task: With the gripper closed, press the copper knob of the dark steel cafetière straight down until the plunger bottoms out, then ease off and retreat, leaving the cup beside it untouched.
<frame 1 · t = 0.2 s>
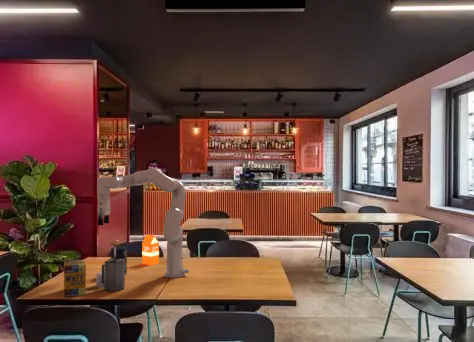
hand: (103, 224, 247), 31 cm above the table, tool pointing down, fingers open, 9 cm apart
protein box: (74, 292, 209), on the table
plunger: (114, 252, 215), point 20 cm above the table, slide at 0.0 cm
orange juice: (150, 263, 277), on the table
carafe: (114, 289, 215), on the table
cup: (102, 285, 221), on the table
canister: (118, 274, 246), on the table
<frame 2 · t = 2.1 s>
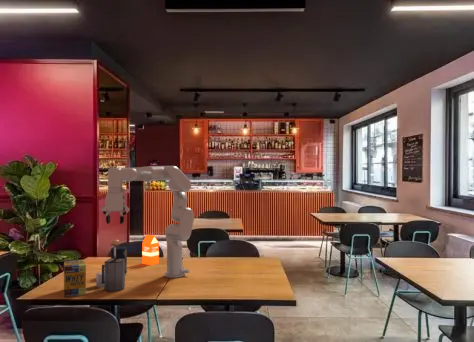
hand: (115, 223, 215), 36 cm above the table, tool pointing down, fingers open, 6 cm apart
nothing on the table moved.
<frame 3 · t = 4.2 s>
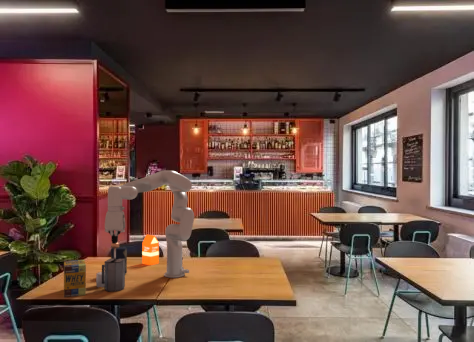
hand: (114, 242, 215), 25 cm above the table, tool pointing down, fingers closed
plunger: (114, 255, 215), point 18 cm above the table, slide at 1.4 cm, touching gripper
everything else where it was.
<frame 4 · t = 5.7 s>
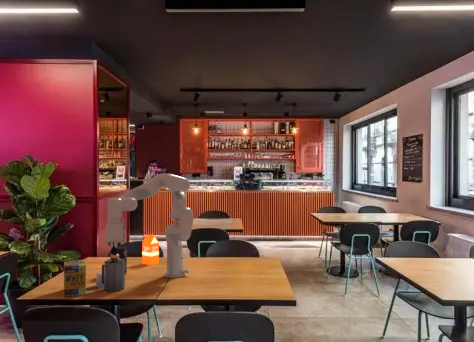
hand: (114, 254, 215), 19 cm above the table, tool pointing down, fingers closed
plunger: (114, 266, 215), point 12 cm above the table, slide at 7.7 cm, touching gripper
everything else where it was.
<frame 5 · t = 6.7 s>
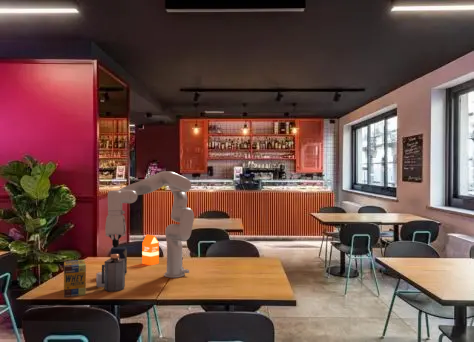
hand: (115, 246, 215), 23 cm above the table, tool pointing down, fingers closed
plunger: (114, 266, 215), point 12 cm above the table, slide at 7.7 cm
everything else where it was.
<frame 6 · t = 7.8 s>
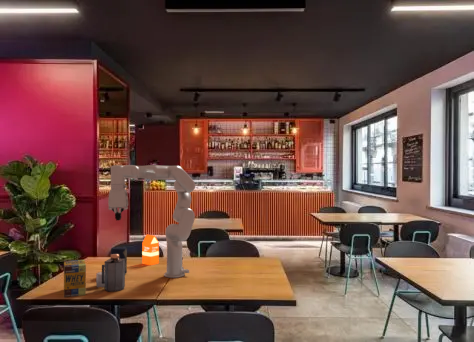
hand: (118, 220, 222), 37 cm above the table, tool pointing down, fingers closed
nothing on the table moved.
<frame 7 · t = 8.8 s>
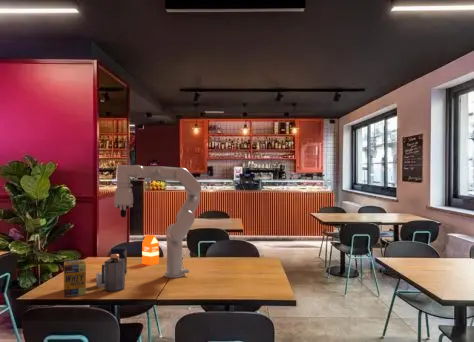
hand: (123, 216, 234), 37 cm above the table, tool pointing down, fingers closed
nothing on the table moved.
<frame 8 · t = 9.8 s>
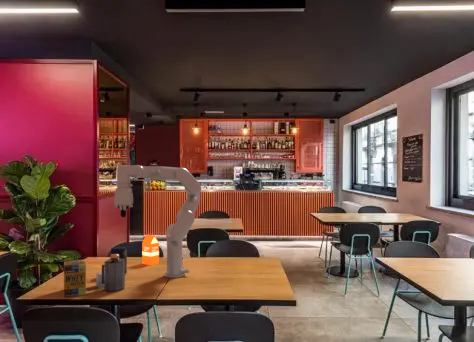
hand: (123, 216, 234), 37 cm above the table, tool pointing down, fingers closed
nothing on the table moved.
at the end: plunger slide at 7.7 cm; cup moved 0.1 cm from its start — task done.
